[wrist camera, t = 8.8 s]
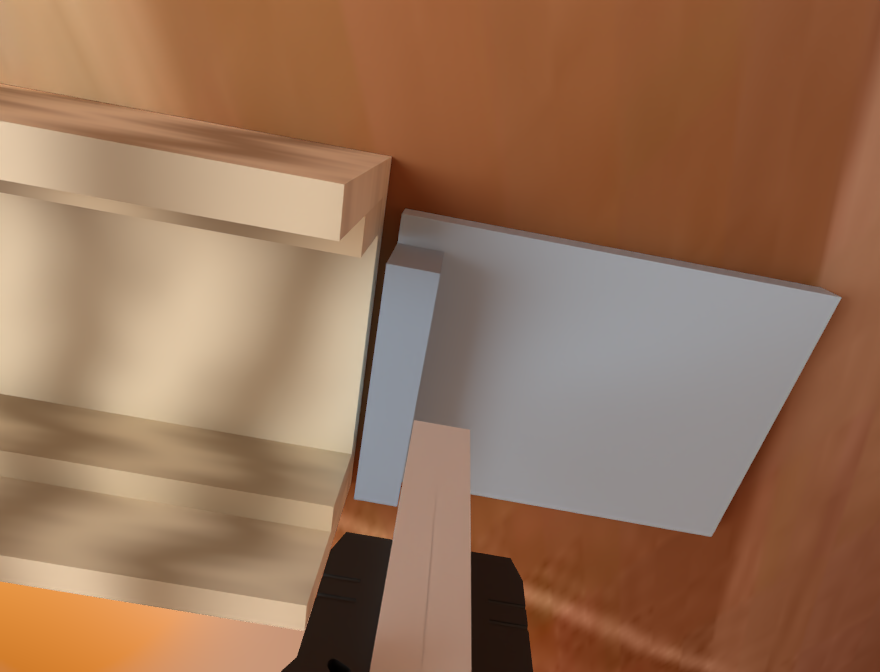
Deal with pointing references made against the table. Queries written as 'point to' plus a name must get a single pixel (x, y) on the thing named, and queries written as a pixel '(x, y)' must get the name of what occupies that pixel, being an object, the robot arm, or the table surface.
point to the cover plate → (581, 370)
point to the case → (179, 354)
